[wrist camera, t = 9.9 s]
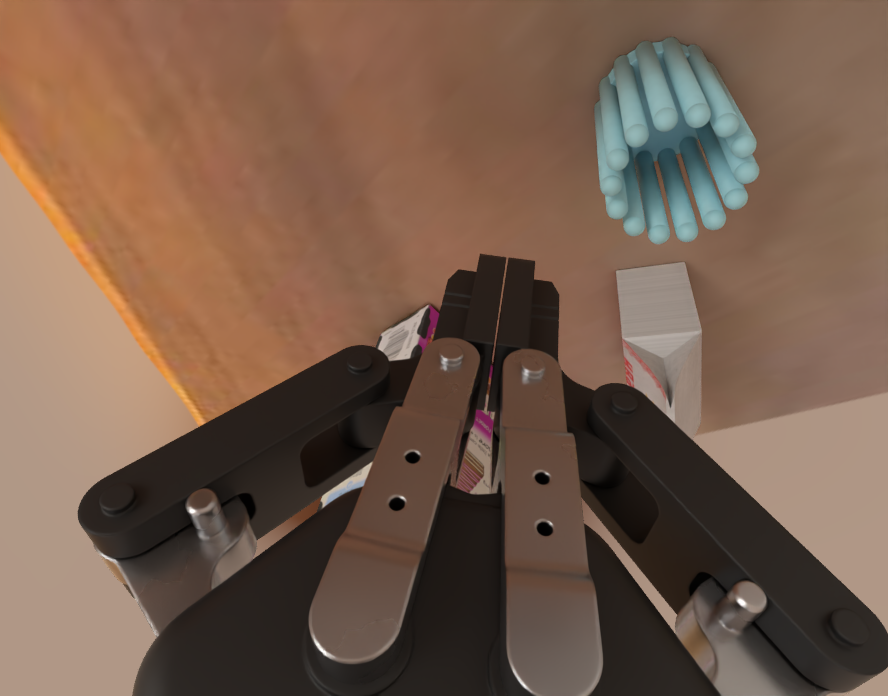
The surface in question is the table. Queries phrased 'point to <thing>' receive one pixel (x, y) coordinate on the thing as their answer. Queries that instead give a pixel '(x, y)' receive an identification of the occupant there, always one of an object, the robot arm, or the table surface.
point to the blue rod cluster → (670, 140)
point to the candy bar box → (475, 471)
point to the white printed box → (662, 340)
